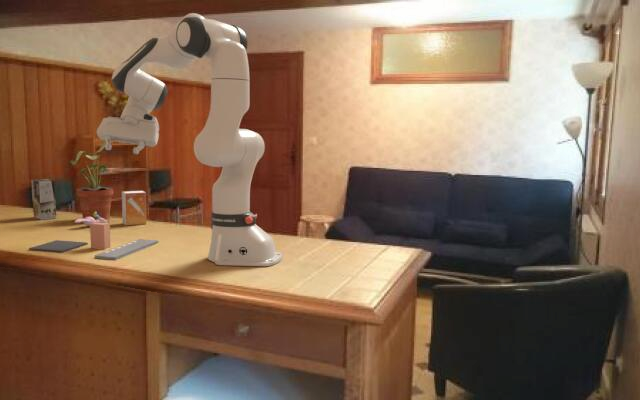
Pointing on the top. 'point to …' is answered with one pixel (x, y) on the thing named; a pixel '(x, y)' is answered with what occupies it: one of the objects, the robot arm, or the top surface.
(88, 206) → the potted plant
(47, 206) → the coffee box
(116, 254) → the plate
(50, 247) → the mat
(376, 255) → the top surface
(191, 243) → the top surface
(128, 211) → the small box
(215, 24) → the robot arm
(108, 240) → the stub block
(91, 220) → the rabbit figure
